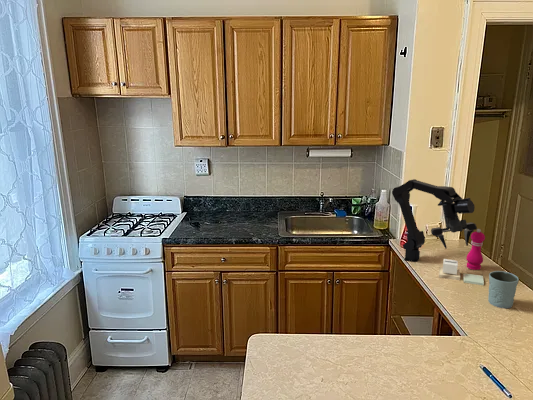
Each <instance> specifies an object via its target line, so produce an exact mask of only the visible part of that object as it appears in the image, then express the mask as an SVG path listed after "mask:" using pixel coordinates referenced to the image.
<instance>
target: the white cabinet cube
mask: <svg viewBox="0 0 533 400" xmlns="http://www.w3.org/2000/svg"><path fill="white" fill-rule="evenodd" d="M442 262H443V263H442V267H443V273H449V274H456V275H457V269H458V260H455V259H447V258H443V261H442Z"/></svg>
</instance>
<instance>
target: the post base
mask: <svg viewBox="0 0 533 400" xmlns="http://www.w3.org/2000/svg"><path fill="white" fill-rule="evenodd" d="M438 278H440V279H448V280H455V281H461V269H458V268H457V275H456V274H449V273H443V266H439V268H438Z"/></svg>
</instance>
